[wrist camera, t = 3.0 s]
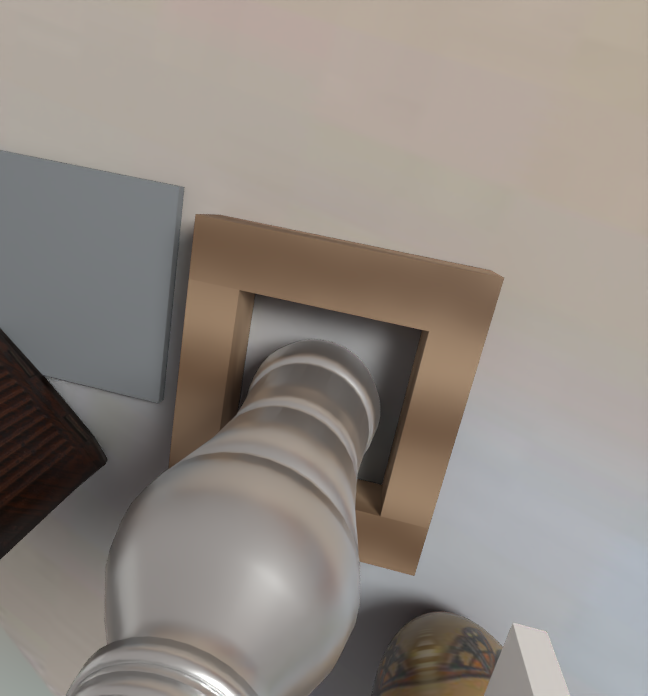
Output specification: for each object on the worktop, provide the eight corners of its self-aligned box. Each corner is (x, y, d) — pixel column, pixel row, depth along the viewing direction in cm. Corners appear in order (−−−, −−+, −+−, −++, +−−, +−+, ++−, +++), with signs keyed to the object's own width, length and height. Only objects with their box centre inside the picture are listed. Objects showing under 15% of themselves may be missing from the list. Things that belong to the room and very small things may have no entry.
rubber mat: (163, 399, 28) (158, 403, 27) (-23, 354, 29) (-32, 357, 28) (184, 187, 24) (179, 186, 24) (-28, 144, 25) (-38, 142, 25)
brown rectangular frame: (412, 538, 28) (414, 575, 25) (186, 480, 29) (164, 509, 26) (490, 270, 23) (504, 277, 20) (218, 214, 24) (195, 214, 22)
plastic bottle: (318, 463, 27) (143, 1023, 8) (240, 376, 27) (-149, 773, 8) (407, 398, 26) (440, 926, 7) (325, 303, 25) (95, 585, 6)
